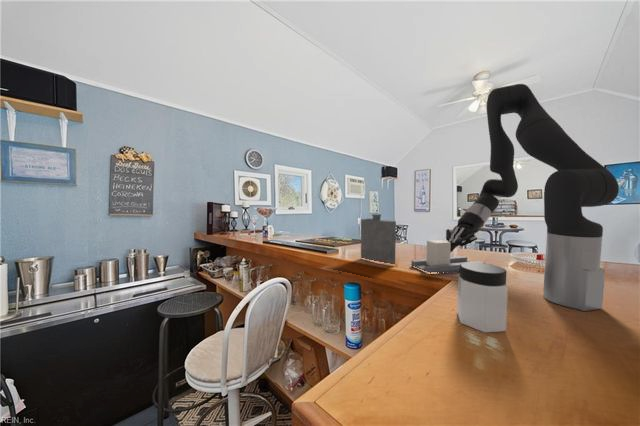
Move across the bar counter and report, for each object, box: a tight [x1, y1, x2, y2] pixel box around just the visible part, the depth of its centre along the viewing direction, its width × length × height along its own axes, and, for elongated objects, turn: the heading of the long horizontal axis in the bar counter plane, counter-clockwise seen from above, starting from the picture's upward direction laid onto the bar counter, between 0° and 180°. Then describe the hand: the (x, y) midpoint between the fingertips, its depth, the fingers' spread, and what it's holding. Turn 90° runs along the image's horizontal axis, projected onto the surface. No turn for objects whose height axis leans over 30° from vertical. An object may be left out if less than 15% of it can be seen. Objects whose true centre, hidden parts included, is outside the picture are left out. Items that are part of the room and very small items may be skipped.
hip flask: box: [360, 213, 397, 265], centre depth 94 cm, size 16×4×20 cm, turn 42°
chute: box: [410, 255, 486, 274], centre depth 86 cm, size 10×24×2 cm, turn 103°
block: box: [425, 239, 451, 266], centre depth 85 cm, size 5×6×9 cm
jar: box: [456, 261, 509, 333], centre depth 49 cm, size 9×8×12 cm
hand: (446, 251), depth 86 cm, fingers closed
